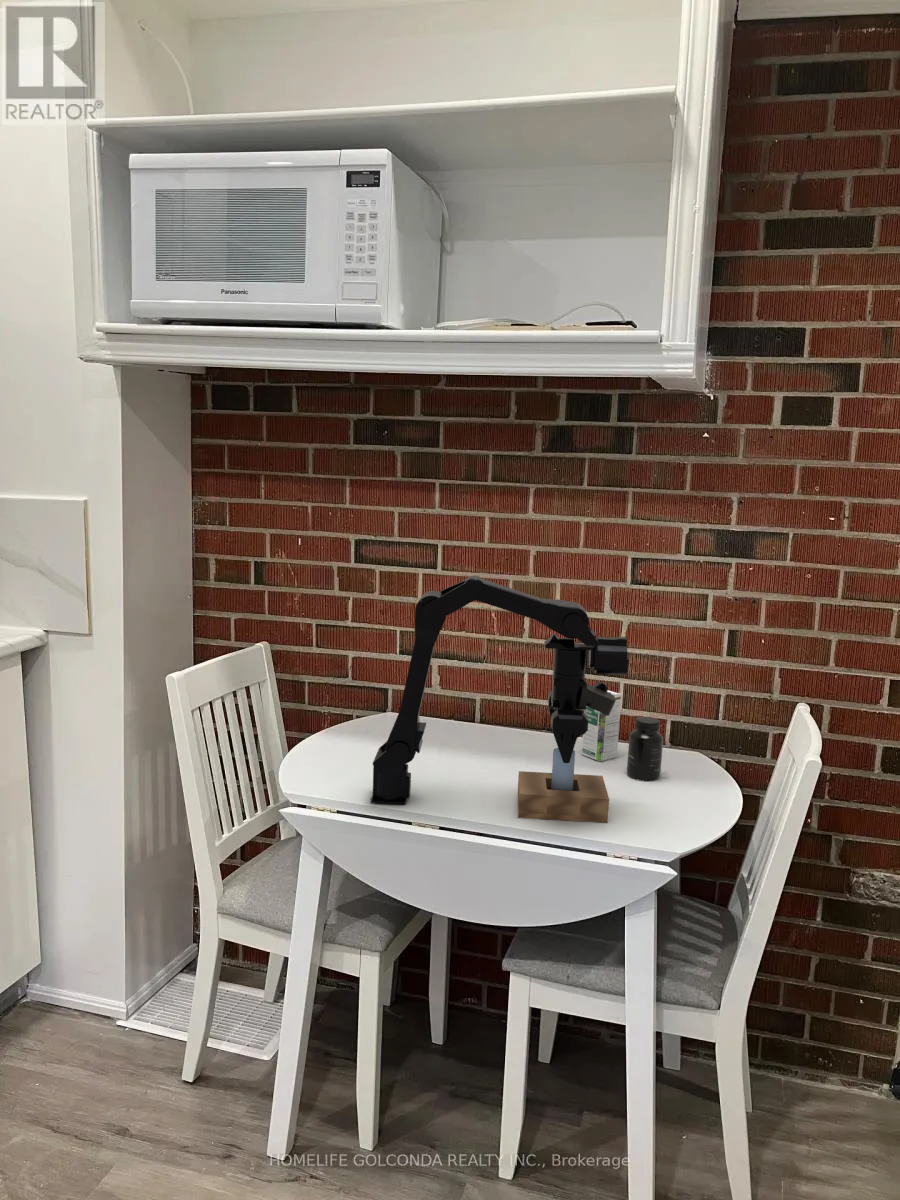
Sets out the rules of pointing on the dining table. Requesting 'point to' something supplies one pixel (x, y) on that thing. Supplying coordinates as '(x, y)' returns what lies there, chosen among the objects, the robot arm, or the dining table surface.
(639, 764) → the supplement bottle
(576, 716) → the robot arm
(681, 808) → the dining table surface
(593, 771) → the dining table surface
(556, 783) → the pin
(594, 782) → the socket block
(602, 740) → the syrup box
